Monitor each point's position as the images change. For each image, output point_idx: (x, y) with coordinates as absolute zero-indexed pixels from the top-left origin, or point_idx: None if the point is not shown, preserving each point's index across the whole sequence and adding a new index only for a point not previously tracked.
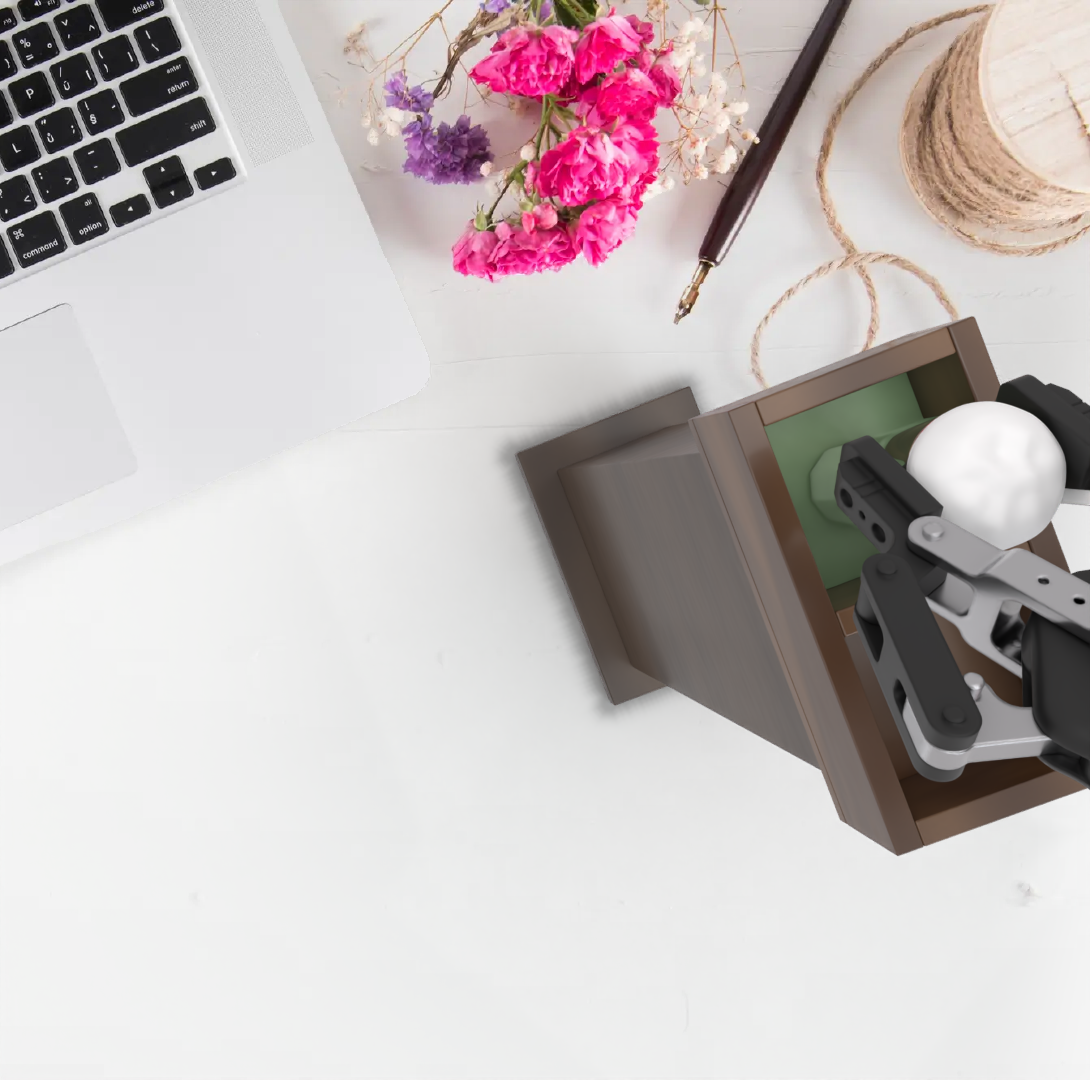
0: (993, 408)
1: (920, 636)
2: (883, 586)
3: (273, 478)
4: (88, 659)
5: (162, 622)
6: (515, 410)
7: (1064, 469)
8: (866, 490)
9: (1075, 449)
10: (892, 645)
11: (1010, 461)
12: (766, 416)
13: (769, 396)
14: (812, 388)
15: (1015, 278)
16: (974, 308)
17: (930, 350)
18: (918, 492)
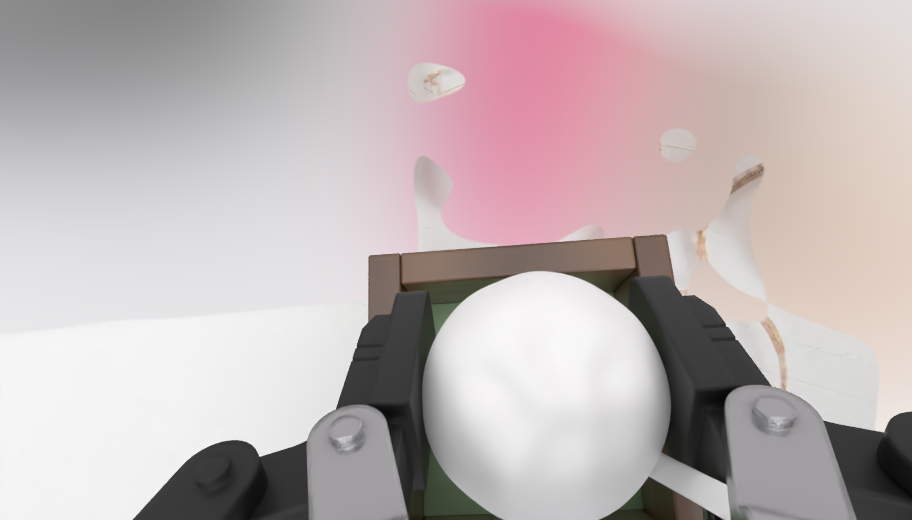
0: (568, 282)
1: None
2: (172, 504)
3: (282, 312)
4: (113, 394)
5: (170, 385)
6: None
7: (658, 416)
8: (366, 353)
9: (679, 385)
10: None
11: (560, 367)
12: (406, 273)
13: (417, 253)
14: (465, 258)
15: (832, 341)
16: (798, 353)
17: (606, 256)
18: (402, 370)
